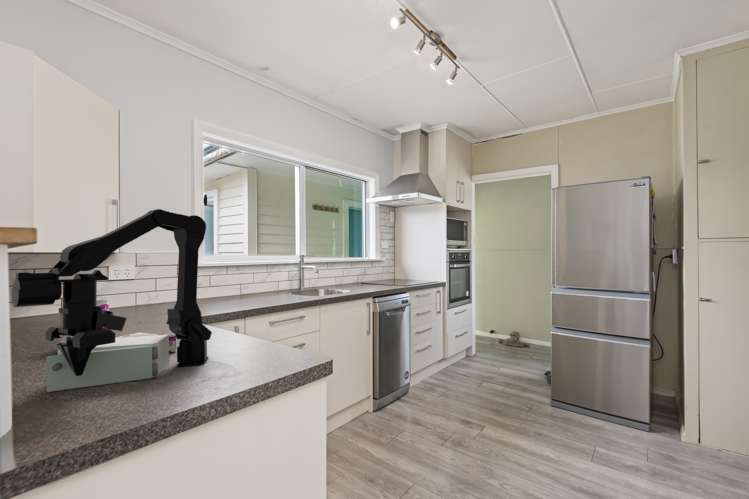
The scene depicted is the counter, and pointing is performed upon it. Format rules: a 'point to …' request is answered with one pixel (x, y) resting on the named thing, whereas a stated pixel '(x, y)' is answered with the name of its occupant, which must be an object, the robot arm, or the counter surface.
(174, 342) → the candy bar box
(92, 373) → the door
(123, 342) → the cupboard
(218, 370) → the counter surface
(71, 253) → the robot arm
